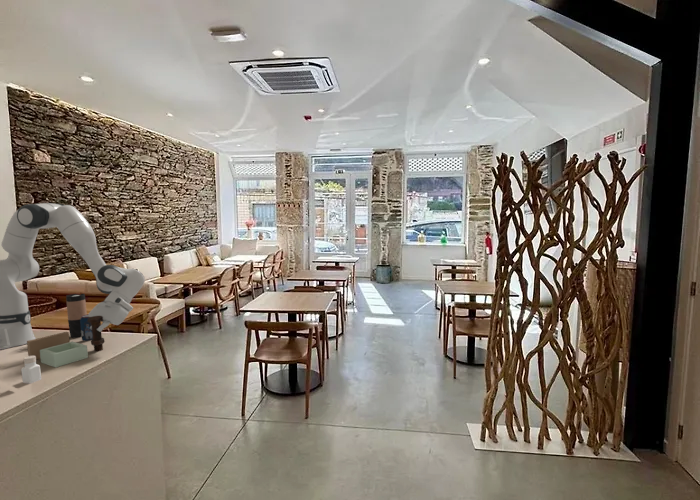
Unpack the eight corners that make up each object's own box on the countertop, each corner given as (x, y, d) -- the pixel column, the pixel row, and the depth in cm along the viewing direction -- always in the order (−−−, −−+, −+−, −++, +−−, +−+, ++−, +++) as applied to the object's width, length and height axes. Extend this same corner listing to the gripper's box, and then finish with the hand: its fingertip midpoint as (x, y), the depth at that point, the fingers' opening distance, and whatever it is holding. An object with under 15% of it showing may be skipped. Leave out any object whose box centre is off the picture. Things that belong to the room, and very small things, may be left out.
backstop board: (93, 359, 162) (91, 337, 161) (53, 372, 150) (51, 348, 149) (66, 351, 172) (64, 331, 172) (27, 362, 160) (25, 340, 159)
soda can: (95, 337, 192) (93, 312, 191) (102, 339, 188) (100, 314, 187) (79, 341, 187) (77, 316, 185) (85, 344, 183) (83, 318, 181)
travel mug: (74, 338, 191) (70, 297, 189) (66, 336, 195) (62, 295, 193) (91, 334, 197) (88, 294, 195) (83, 332, 201) (80, 292, 199)
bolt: (98, 354, 167) (94, 319, 165) (88, 354, 168) (84, 319, 166) (109, 349, 173) (105, 315, 171) (99, 349, 174) (95, 315, 172)
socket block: (88, 357, 161) (87, 345, 161) (55, 367, 151) (54, 354, 151) (73, 353, 167) (72, 341, 167) (40, 362, 157) (39, 349, 157)
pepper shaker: (34, 380, 142) (31, 354, 141) (42, 382, 141) (39, 355, 140) (22, 385, 138) (19, 358, 137) (30, 386, 137) (27, 359, 136)
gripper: (97, 296, 179) (75, 323, 172) (124, 300, 169) (102, 329, 162) (108, 304, 184) (87, 330, 176) (135, 308, 173) (114, 337, 166)
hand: (95, 330), depth 169 cm, fingers closed on bolt, 3 cm apart
